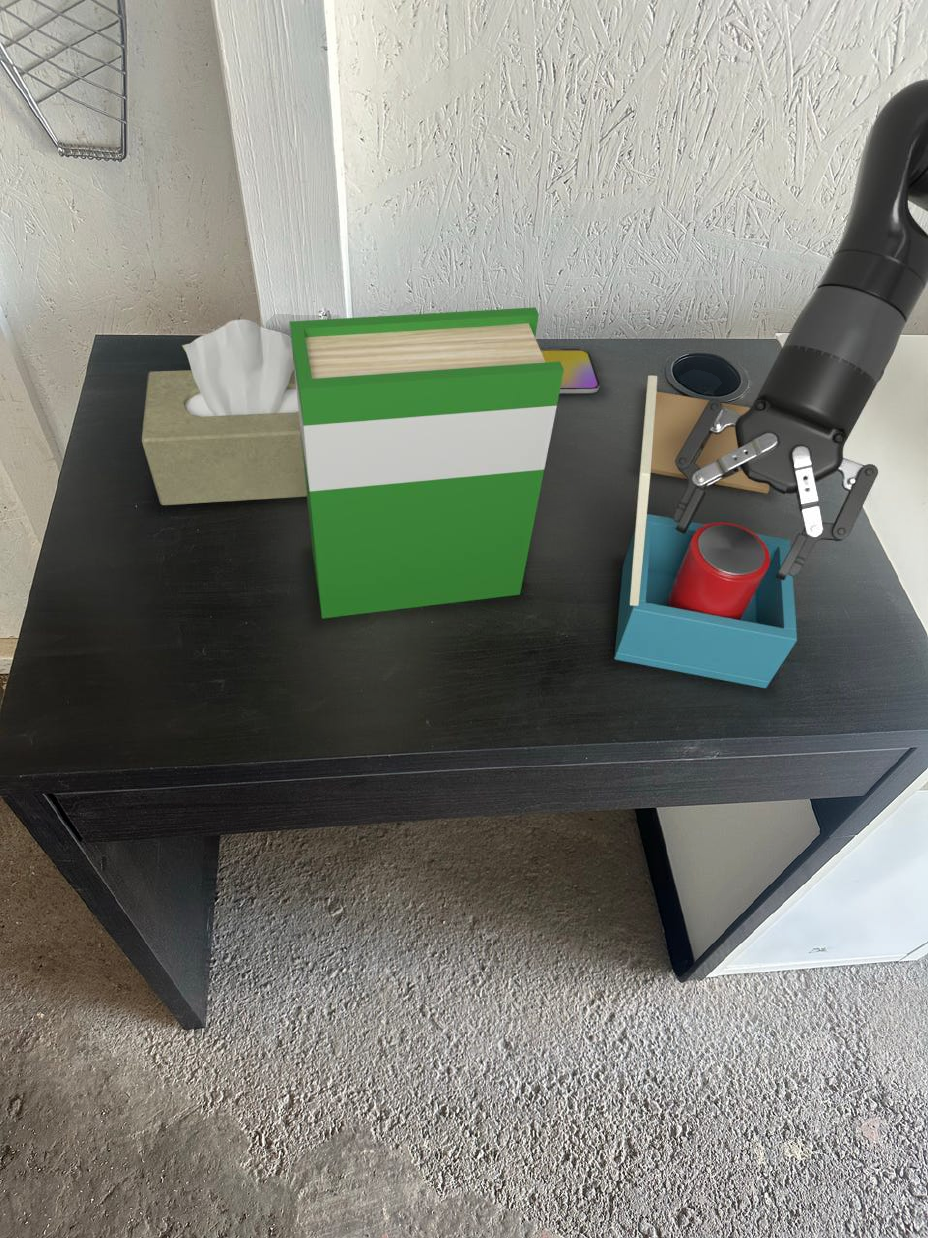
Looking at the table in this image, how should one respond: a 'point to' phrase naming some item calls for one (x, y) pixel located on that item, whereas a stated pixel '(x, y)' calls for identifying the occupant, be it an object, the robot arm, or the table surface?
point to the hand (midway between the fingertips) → (729, 554)
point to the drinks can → (720, 571)
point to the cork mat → (675, 427)
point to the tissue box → (226, 420)
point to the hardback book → (422, 454)
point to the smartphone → (574, 370)
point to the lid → (643, 489)
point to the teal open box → (703, 616)
